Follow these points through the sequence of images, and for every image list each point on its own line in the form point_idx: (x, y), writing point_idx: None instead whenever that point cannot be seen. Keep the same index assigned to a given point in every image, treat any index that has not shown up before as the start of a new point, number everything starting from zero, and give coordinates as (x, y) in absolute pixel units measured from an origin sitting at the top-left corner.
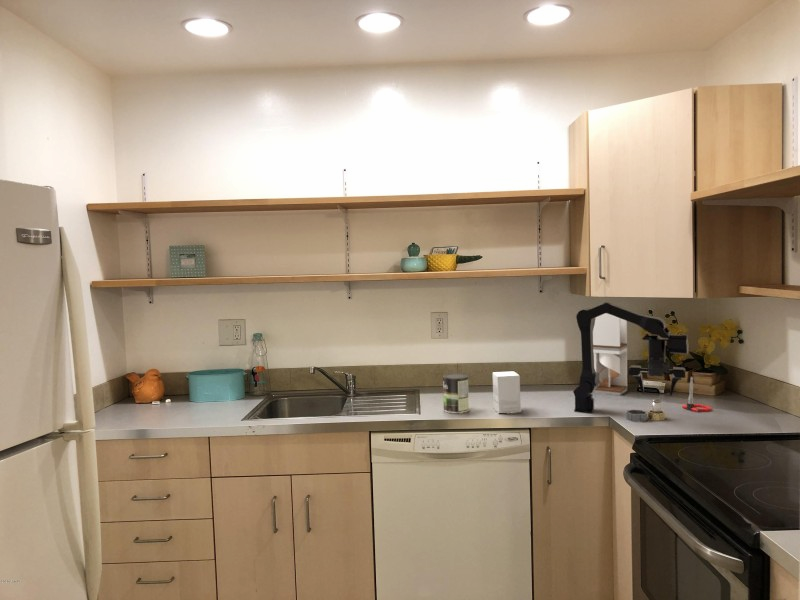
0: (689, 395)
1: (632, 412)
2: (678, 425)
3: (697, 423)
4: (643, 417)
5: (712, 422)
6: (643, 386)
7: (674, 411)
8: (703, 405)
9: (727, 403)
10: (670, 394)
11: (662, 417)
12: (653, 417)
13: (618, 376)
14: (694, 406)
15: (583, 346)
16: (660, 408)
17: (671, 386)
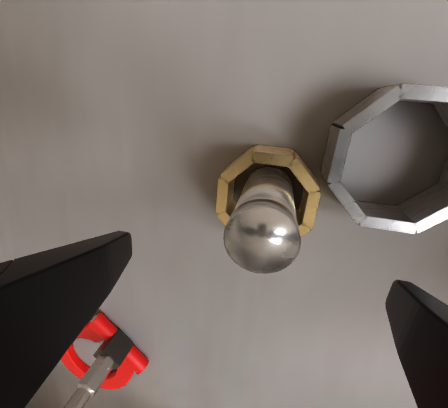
0: (84, 398)
1: (418, 211)
2: (161, 65)
3: (81, 135)
4: (364, 104)
5: (30, 169)
6: (421, 392)
7: (178, 317)
8: (82, 376)
9: (31, 404)
10: (120, 234)
11: (236, 160)
12: (289, 151)
13: None
14: (111, 373)
15: None
16: (238, 200)
17: (30, 269)
